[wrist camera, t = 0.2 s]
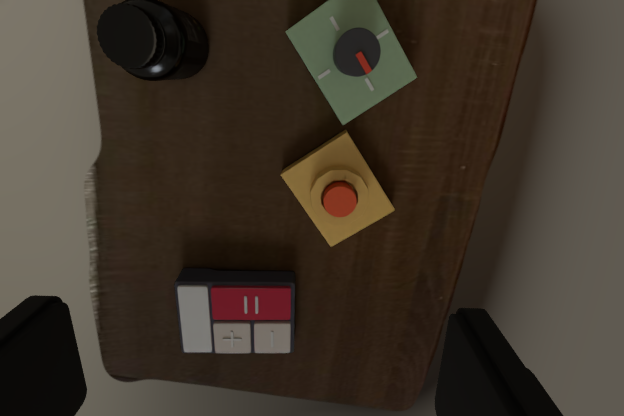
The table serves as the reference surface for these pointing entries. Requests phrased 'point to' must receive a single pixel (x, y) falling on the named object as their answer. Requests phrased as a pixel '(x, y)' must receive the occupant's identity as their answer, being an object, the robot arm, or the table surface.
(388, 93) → the dial panel
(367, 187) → the tan flat block
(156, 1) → the supplement bottle
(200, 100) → the table surface
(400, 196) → the table surface
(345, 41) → the lock dial
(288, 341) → the calculator
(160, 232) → the table surface
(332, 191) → the button
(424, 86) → the table surface
